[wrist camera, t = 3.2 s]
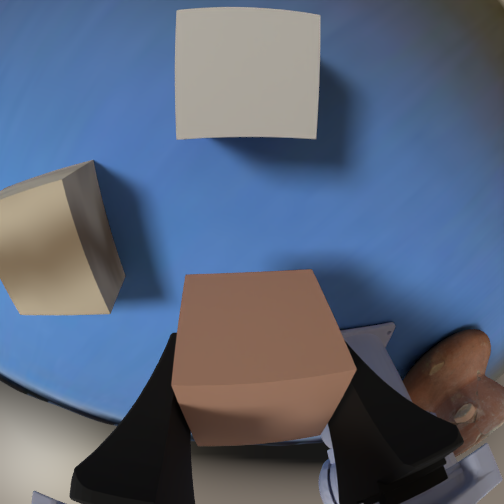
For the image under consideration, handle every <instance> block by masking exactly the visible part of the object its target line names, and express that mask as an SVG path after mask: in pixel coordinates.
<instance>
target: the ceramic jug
mask: <svg viewBox="0 0 504 504" xmlns="http://www.w3.org/2000/svg"><path fill="white" fill-rule="evenodd" d="M490 351H491V345H490V340H489V338H488V336H487V335H486V334H485V333H484V332H482V331H480V330H477V329H468V330H463V331H460V332H457V333H455V334H453V335H451V336H449V337H447V338H446V339H444V340H442V341H441V342H440V343H438V344H437V345H435V346H434V347H433V348H431V349H430V350H429V351H428V352H427V353H425V354H424V355H423V356H422V357H421V358H420V359H419V360H418V361H417V362H416V363H415V365H414V366H413V367H412V368H411V369H410V371H409V372H408V373H407V375H406V376H405V378H404V379H403V383H404V385H405V387H406V390H407V392H408V394H409V396H410V398H411V400H412V402H413V403H414V404H416V405H417V406H419V407H420V408H422V409H423V410H425V411H429V413H430V412H433V413H436V415H437V417H438V418H441V419H443V420H445V421H448V422H450V423H452V424H454V425H456V426H457V427H458V429H459V431H460V434H461V436H462V438H463V440H464V443H463V445H461V446H460V447H459V448H457V449H456V450H455V451H453V453H454V455H455V457H456V456H458V455H460V454H462V453H464V452H466V451H467V450H468V449H470V448H472V447H473V446H474V445H476V444H478V443H479V442H481V441H482V440H484V439H485V438H486V437H488V436H489V435H490V434H491V433H492V432H493V431H494V430H495V429H497V428H499V427H500V426H501V425H502V424H503V423H504V387H503V386H501V385H500V384H498V383H497V382H495V381H493V380H492V379H490V378H488V377H486V376H485V370H486V366H487V363H488V360H489V356H490Z"/></svg>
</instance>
